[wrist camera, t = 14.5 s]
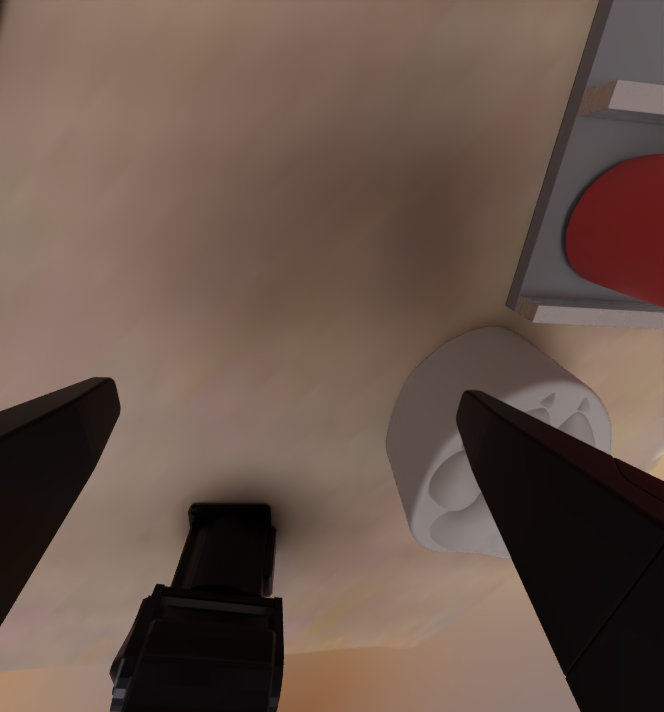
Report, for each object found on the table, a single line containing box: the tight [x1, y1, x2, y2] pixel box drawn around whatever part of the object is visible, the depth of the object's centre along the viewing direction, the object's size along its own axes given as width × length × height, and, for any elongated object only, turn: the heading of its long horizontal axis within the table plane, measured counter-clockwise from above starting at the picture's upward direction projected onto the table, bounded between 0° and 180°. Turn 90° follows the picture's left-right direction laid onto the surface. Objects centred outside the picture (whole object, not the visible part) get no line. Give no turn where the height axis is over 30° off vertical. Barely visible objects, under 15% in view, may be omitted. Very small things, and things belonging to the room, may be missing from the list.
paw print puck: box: [386, 327, 612, 558], centre depth 22 cm, size 10×13×9 cm
